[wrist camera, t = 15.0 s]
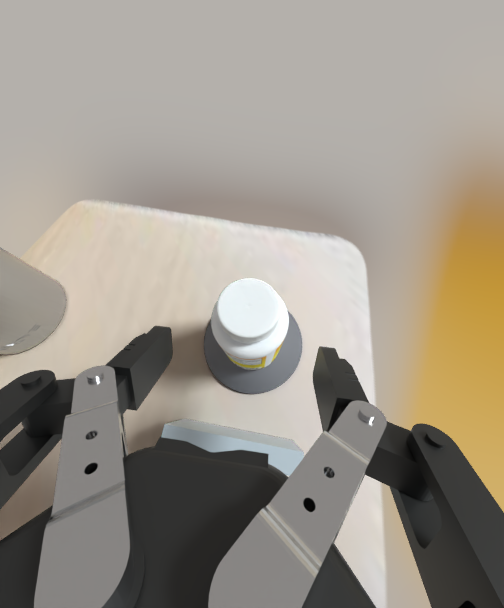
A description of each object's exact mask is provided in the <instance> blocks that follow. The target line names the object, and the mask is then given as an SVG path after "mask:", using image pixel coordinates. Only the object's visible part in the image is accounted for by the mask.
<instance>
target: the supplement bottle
mask: <svg viewBox="0 0 504 608" xmlns="http://www.w3.org/2000/svg"><path fill="white" fill-rule="evenodd" d="M288 326H289V316H288V311H287V308H286V306H285V304H284V302H283V300H282V299H281V298H280V296H279V295H278V294H277V293H276V292H275V290H274V289H273V288H272V287H271V286H270V285H269V284H267V283H266V282H264V281H261V280H258V279H254V278H244V279H240V280H236V281H234V282H232V283H231V284H229V285H228V286H227V287H226V288H225V289H224V290H223V291H222V293H221V294H220V296H219V298H218V301H217V302H216V304H215V306H214V308H213V312H212V316H211V327H212V332H213V335H214V337H215V339H216V341H217V342H218V344H219V345H220V347H221V348H222V349H223V351H224V352H225V353H226V355H227V356H228V357H229V359H230V360H231V361H232V362H233V363H234V364H235V365H237V366H238V367H240V368H242V369H246V370H259V369H262V368H264V367H266V366H268V365H269V364H271V363H272V362H273V361H274V359H275V358H276V356H277V355H278V352H279V350H280V348H281V346H282V343H283V341H284V339H285V336H286V334H287V331H288Z"/></svg>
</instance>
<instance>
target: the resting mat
mask: <svg viewBox="0 0 504 608" xmlns="http://www.w3.org/2000/svg"><path fill="white" fill-rule="evenodd" d="M288 316H289V326H288V331H287V334H286V336H285V339H284V341H283V343H282V346H281V348H280V350H279V352H278V355H277V356H276V358H275V359H274V361H273V362H272V363H271V364H269V365H268V366H266V367H264V368H262V369H259V370H246V369H242V368H240V367H238V366H237V365H235V364H234V363H233V362H232V361H231V360H230V359H229V357H228V356H227V355H226V353H225V352H224V351H223V349H222V348H221V347H220V345H219V344H218V342H217V341H216V339H215V337H214V335H213V332H212V327H211V321H210V323H209V325H208V327H207V330H206V334H205V339H204V351H205V357H206V361H207V363H208V365H209V367H210V369H211V371H212V373H213V374H214V375H215V376H216V378H217V379H218V380H219V381H221V382H222V383H223V384H224V385H226V386H227V387H229V388H231V389H233V390H236V391H238V392H242V393H249V394H257V393H264V392H268V391H270V390H273V389H275V388H277V387H279V386H280V385H282V384H283V383H284V382H285V381H287V380H288V379H289V378H290V376H291V375H292V374H293V373H294V371H295V369H296V368H297V366H298V363H299V361H300V357H301V353H302V338H301V333H300V329H299V327H298V324H297V322H296V321H295V319H294V317H293V316H292V315H291V314H290V313H289V312H288Z"/></svg>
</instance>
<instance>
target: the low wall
mask: <svg viewBox="0 0 504 608" xmlns="http://www.w3.org/2000/svg"><path fill="white" fill-rule="evenodd" d="M161 437H163V438H169V439H176V440H182V441H187V442H189V443H191V444H194V445H196V446H198V447H200V448H202V449H205V450H207V451H209V452H223V451H233V450H247V451H254V452H260V453H266V454H269V455H268V464H270V465H272V466H274V467H276V468H277V469H279V470H280V471H282V472H283V473H284V474H285V475H289V476H290V475H291V474H292V473H293V471H294V470H295V469H296V467H297V466H298V465H299V463H300V462H301V461H302V459H303V456H304V452H303V451H302V450H301V449H300V447H299V446H298V445H297V444H296V443H295V442H294V441H293V440H290V439H285V438H280V437H275V436H270V435H265V434H260V433H255V432H250V431H245V430H240V429H235V428H230V427H225V426H220V425H215V424H210V423H205V422H199V421H194V420H189V419H181V420H177V421H174V422H170V423H167V424H165V425H164V428H163V432H162V435H161Z"/></svg>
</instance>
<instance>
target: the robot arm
mask: <svg viewBox="0 0 504 608" xmlns="http://www.w3.org/2000/svg"><path fill="white" fill-rule="evenodd" d="M65 308H66V294H65V291H64V289H63V287H62V286H61V285H60V284H59V283H58V282H57V281H56V280H54V279H52V278H51V277H49V276H47V275H46V274H44V273H42V272H41V271H39V270H37V269H36V268H34V267H32V266H31V265H29V264H27V263H26V262H24V261H22V260H21V259H19V258H17V257H16V256H14V255H12V254H11V253H9V252H7V251H5V250H3V249H2V248H0V354H5V355H9V354H17V353H20V352H23V351H26V350H29V349H30V348H32V347H34V346H36V345H38V344H39V343H41V342H42V341H43V340H45V339H46V338H47V337H48V336H49V335H50V334H51V333H52V332H53V331H54V330H55V328H56V327H57V326H58V324H59V323H60V321H61V319H62V317H63V315H64V312H65ZM172 353H173V350H172V335H171V329H170V328H169V327H162V326H154V327H153V328H152V329H151V330H150V331H149V332H148V333H147V334H145V333H144V334H142V335H140V336H138V337H136V338H135V339H133V340H132V341H131V342H130V343H129V345H127V346H126V347H125V348H124V349H123V350H121V351H120V352H119V353H118V354H117V355H116V356H115V357H114V358H113V359H112V360H111V361H110V362H108V363H107V364H106V365H105V366H96V367H92V368H90V369H87V370H85V371H83V372H82V373H80V374H79V375H78V376H77V377H76V379H65V380H56V378H55V375H54V373H53V372H52V371H49V370H39V371H34V372H30V373H27V374H24V375H22V376H20V377H18V378H16V379H15V380H13V381H12V382H11V383H9V384H8V385H6V386H5V387H3V388H2V389H1V390H0V442H1V441H2V439H3V438H4V437H5V436H6V435H7V434H8V433H9V432H10V431H12V430H13V429H14V428H15V427H16V426H17V425H18V424H19V423H21V422H22V425H23V427H24V429H23V430H21V431H20V432H19V433H18V434H17V435H16V436H15V437H14V438H13V439H12V440H11V441H10V442H9V443H8V444H6V445H5V446H4V447H3V448H2V449H1V450H0V509H1V508H2V507H3V506H4V504H5V503H6V502H7V501H8V500H9V499H10V497H11V496H12V495H13V494H14V493H15V492H16V491H17V489H18V488H19V487H20V486H21V485H22V484H23V482H24V481H25V480H26V479H27V478H28V477H29V475H30V474H31V473H32V472H33V471H34V470H35V468H36V467H37V466H38V465H39V464H40V463H41V462H42V460H43V459H44V458H45V457H46V456H47V455H48V453H49V452H50V451H51V450H52V449H53V448H54V446H55V445H56V444H57V443H58V442H59V441H60V439H61V438H62V442H61V449H60V457H59V464H58V472H57V479H56V486H55V494H54V501H53V506H51V507H50V508H48V509H47V510H45V511H44V512H42V513H41V514H39V515H38V516H36V517H35V518H33V519H32V520H30V521H29V522H27V523H26V524H24V525H23V526H21V527H20V528H18V529H17V530H15V531H14V532H13V533H11V534H10V535H8V536H7V537H5V538H4V539H2V540H1V541H0V608H376V607H375V605H374V604H373V602H372V601H371V599H370V598H369V596H368V594H367V593H366V591H365V590H364V588H363V587H362V585H361V584H360V582H359V581H358V579H357V578H356V576H355V575H354V573H353V572H352V570H351V568H350V567H349V565H348V564H347V562H346V561H345V559H344V558H343V556H342V555H341V553H340V552H339V550H338V549H337V547H336V546H335V544H334V542H335V540H336V538H337V535H338V533H339V531H340V529H341V526H342V524H343V522H344V520H345V517H346V515H347V513H348V511H349V509H350V506H351V504H352V502H353V500H354V498H355V496H356V493H357V491H358V489H359V487H360V485H361V482H362V480H363V478H364V476H365V475H367V476H369V477H371V478H374V479H376V480H378V481H380V482H382V483H384V484H386V485H388V486H390V489H391V492H392V494H393V498H394V500H395V503H396V506H397V509H398V512H399V515H400V518H401V521H402V524H403V526H404V529H405V532H406V535H407V538H408V541H409V544H410V547H411V549H412V552H413V555H414V558H415V561H416V564H417V567H418V570H419V573H420V575H421V578H422V581H423V584H424V587H425V590H426V593H427V596H428V598H429V601H430V604H431V607H432V608H504V513H503V511H502V510H501V508H500V507H499V505H498V504H497V502H496V501H495V500H494V498H493V497H492V495H491V494H490V492H489V491H488V489H487V488H486V487H485V485H484V484H483V482H482V481H481V479H480V478H479V476H478V475H477V473H476V472H475V471H474V469H473V468H472V466H471V465H470V464H469V462H468V460H467V459H466V458H465V456H464V455H463V453H462V452H461V450H460V449H459V447H458V446H457V445H456V443H455V442H454V441H453V440H452V439H451V438H450V437H449V436H448V435H446V434H445V433H443V432H442V431H440V430H439V429H437V428H435V427H433V426H430V425H427V424H416V425H414V426H413V428H412V430H411V431H409V430H407V429H404V428H402V427H399V426H397V425H394V424H392V423H389V422H387V421H386V418H385V416H384V415H383V413H382V412H381V411H380V410H379V409H378V408H377V407H375V406H374V405H372V404H370V403H369V402H368V400H367V397H366V395H365V393H364V391H363V389H362V387H361V385H360V382H359V381H358V378H357V376H356V375H355V372H354V370H353V367H352V366H351V365H350V364H349V363H348V362H347V361H346V360H345V359H339V357H338V354H337V352H336V349H335V348H329V347H319V349H318V353H317V358H316V362H315V366H314V371H313V384H314V389H315V394H316V399H317V404H318V409H319V414H320V419H321V424H322V428H323V433H322V434H321V435H320V437H319V438H318V439H317V441H316V442H315V443H314V445H313V446H312V447H311V449H310V450H309V451H308V453H307V454H306V455H305V457H304V458H303V459H302V461H301V462H300V463H299V465H298V466H297V467H296V469H295V470H294V471H293V473H292V474H291V475H290V477H287V476H286V475H285V474H284V473H283V472H282V471H280V470H279V469H277V468H276V467H274V466H272V465H270V464H268V455H269V454H266V453H260V452H254V451H247V450H233V451H223V452H209V451H207V450H205V449H202V448H200V447H198V446H196V445H194V444H191V443H189V442H187V441H182V440H176V439H169V438H163V437H160V438H159V440H158V442H157V444H156V446H155V447H149V448H144V449H141V450H138V451H136V452H134V453H131V454H129V455H128V449H127V441H126V433H125V425H124V417H123V414H124V412H125V411H126V409H130V410H136V411H137V409H138V408H139V407H140V405H141V404H142V402H143V401H144V399H145V398H146V396H147V395H148V393H149V392H150V391H151V389H152V388H153V386H154V385H155V383H156V382H157V380H158V379H159V378H160V376H161V375H162V373H163V372H164V370H165V369H166V367H167V366H168V365H169V363H170V361H171V359H172Z"/></svg>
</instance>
